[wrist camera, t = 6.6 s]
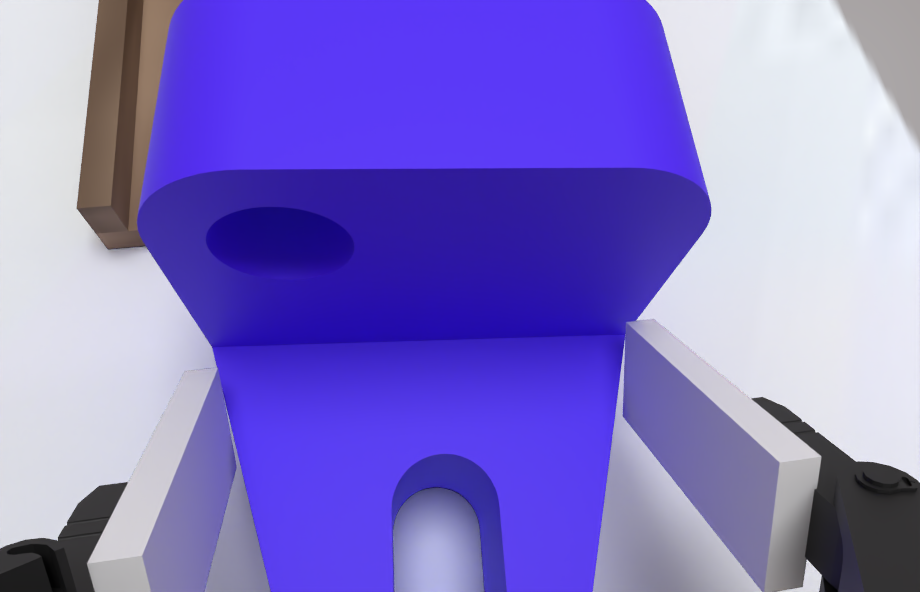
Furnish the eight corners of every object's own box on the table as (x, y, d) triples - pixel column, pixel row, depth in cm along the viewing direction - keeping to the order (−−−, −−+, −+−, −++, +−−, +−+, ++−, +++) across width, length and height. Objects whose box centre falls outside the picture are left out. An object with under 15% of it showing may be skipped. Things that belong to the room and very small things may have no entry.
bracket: (255, 269, 23) (136, -29, 13) (567, 263, 24) (696, -17, 14) (204, 970, 15) (-218, 1704, 5) (667, 914, 17) (1141, 1414, 6)
